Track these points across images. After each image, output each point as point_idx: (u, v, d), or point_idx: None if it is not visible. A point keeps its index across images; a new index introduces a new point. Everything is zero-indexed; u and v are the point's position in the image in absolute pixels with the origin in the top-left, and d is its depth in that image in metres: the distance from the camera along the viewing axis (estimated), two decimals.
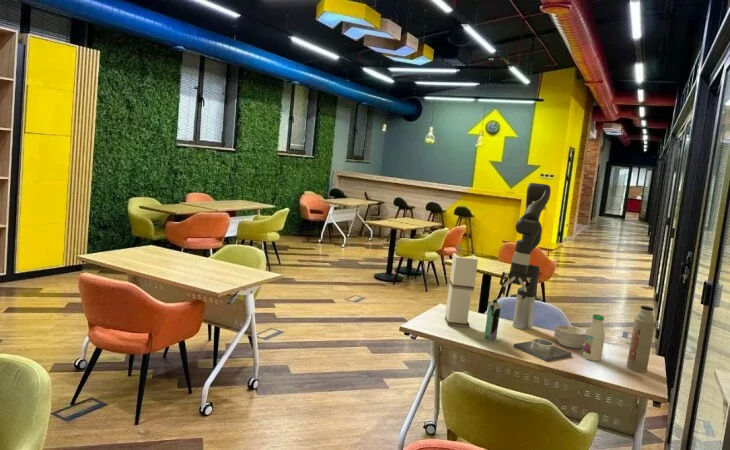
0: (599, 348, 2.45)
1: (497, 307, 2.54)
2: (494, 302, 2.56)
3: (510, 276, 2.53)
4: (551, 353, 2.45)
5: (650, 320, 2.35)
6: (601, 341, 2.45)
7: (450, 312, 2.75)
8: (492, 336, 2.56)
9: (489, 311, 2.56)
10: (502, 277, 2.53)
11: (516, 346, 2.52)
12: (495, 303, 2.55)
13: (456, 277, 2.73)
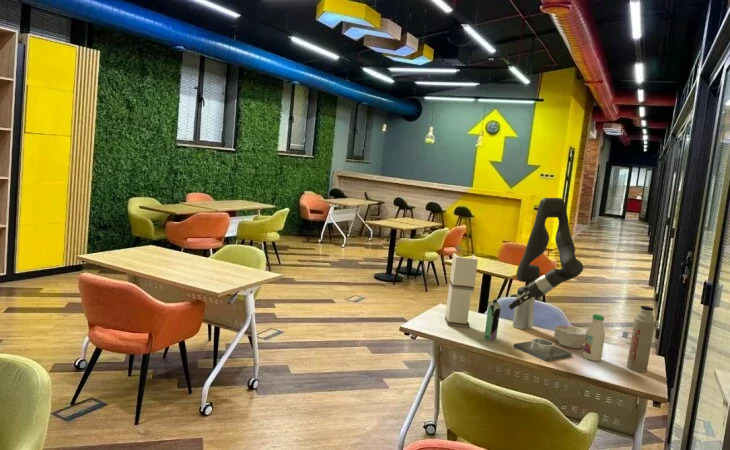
0: (599, 348, 2.45)
1: (497, 307, 2.54)
2: (494, 302, 2.56)
3: None
4: (551, 353, 2.45)
5: (650, 320, 2.35)
6: (601, 341, 2.45)
7: (450, 312, 2.75)
8: (492, 336, 2.56)
9: (489, 311, 2.56)
10: (525, 301, 2.44)
11: (516, 346, 2.52)
12: (495, 303, 2.55)
13: (456, 277, 2.73)
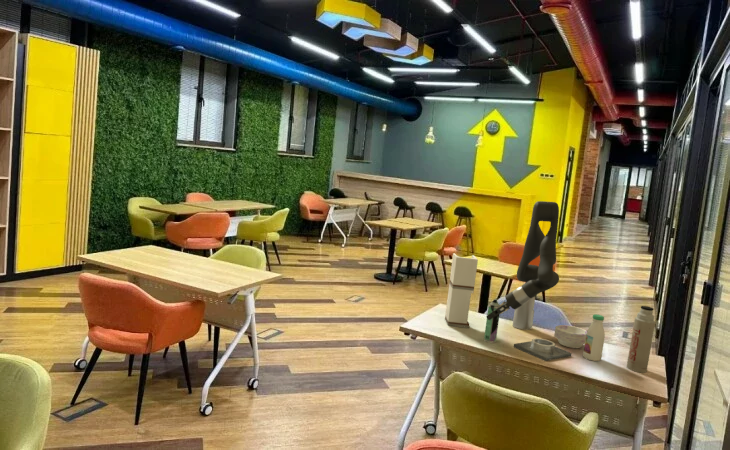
0: (599, 348, 2.45)
1: None
2: (494, 302, 2.56)
3: (505, 309, 2.52)
4: (551, 353, 2.45)
5: (650, 320, 2.35)
6: (601, 341, 2.45)
7: (450, 312, 2.75)
8: (492, 336, 2.56)
9: (489, 311, 2.56)
10: (501, 312, 2.50)
11: (516, 346, 2.52)
12: (495, 303, 2.55)
13: (456, 277, 2.73)
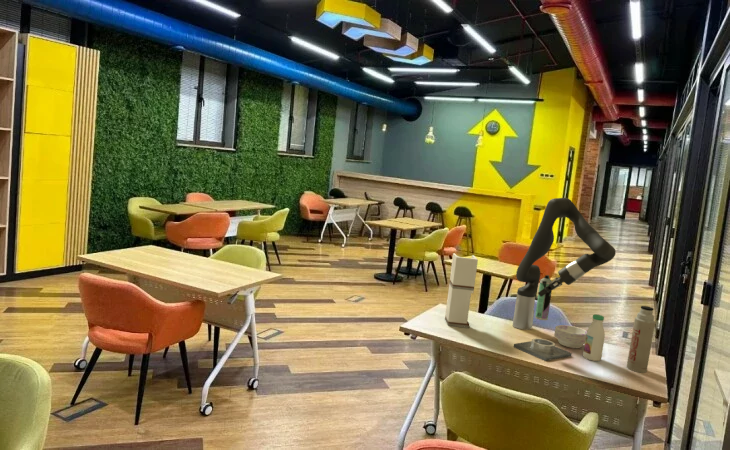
0: (599, 348, 2.45)
1: None
2: (546, 278, 2.47)
3: (558, 285, 2.43)
4: (551, 353, 2.45)
5: (650, 320, 2.35)
6: (601, 341, 2.45)
7: (450, 312, 2.75)
8: (544, 313, 2.47)
9: (541, 287, 2.47)
10: (554, 288, 2.41)
11: (516, 346, 2.52)
12: (547, 279, 2.46)
13: (456, 277, 2.73)
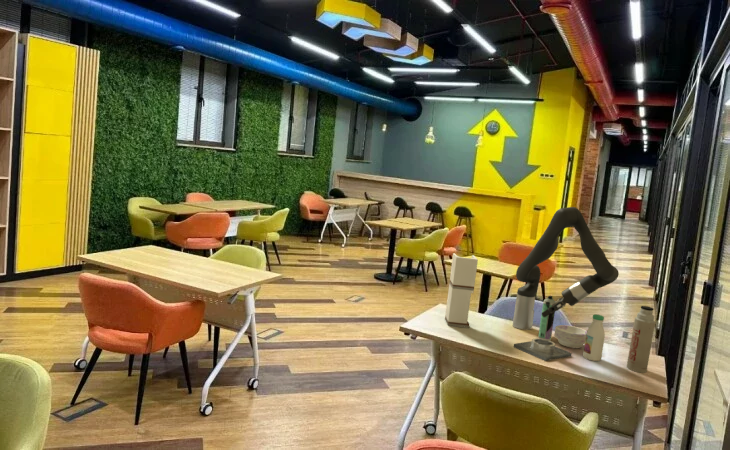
0: (599, 348, 2.45)
1: None
2: (549, 299, 2.47)
3: (561, 306, 2.43)
4: (551, 353, 2.45)
5: (650, 320, 2.35)
6: (601, 341, 2.45)
7: (450, 312, 2.75)
8: (547, 334, 2.47)
9: (544, 308, 2.47)
10: (558, 309, 2.41)
11: (516, 346, 2.52)
12: (550, 300, 2.47)
13: (456, 277, 2.73)
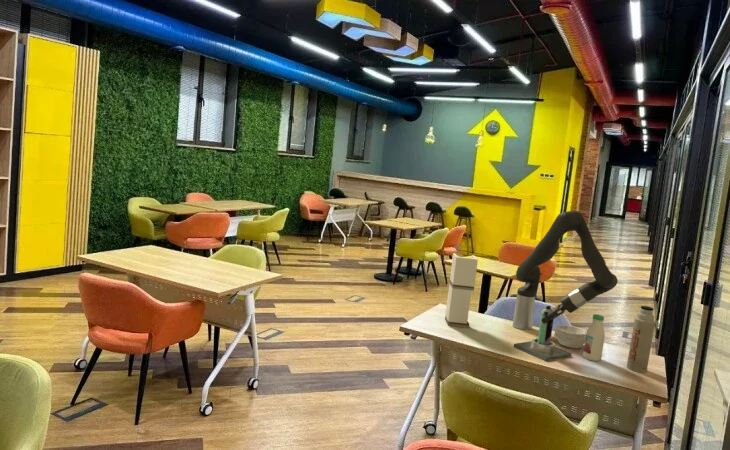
0: (599, 348, 2.45)
1: None
2: (547, 308, 2.48)
3: (561, 312, 2.43)
4: (551, 353, 2.45)
5: (650, 320, 2.35)
6: (601, 341, 2.45)
7: (450, 312, 2.75)
8: (546, 344, 2.48)
9: (542, 318, 2.48)
10: (558, 315, 2.41)
11: (516, 346, 2.52)
12: (549, 309, 2.47)
13: (456, 277, 2.73)
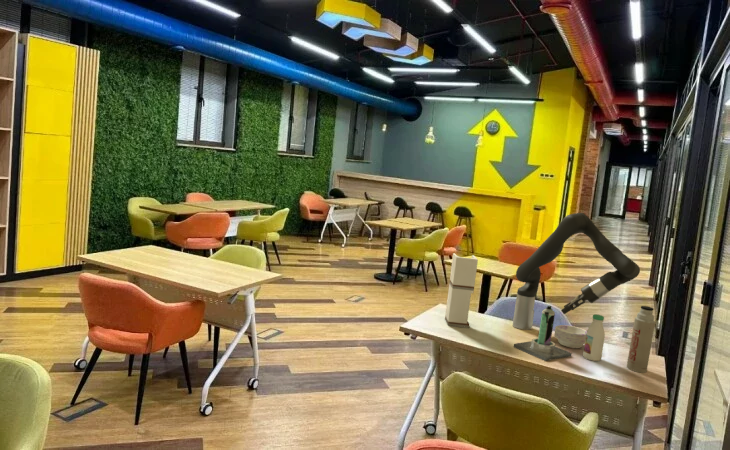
0: (599, 348, 2.45)
1: (552, 314, 2.46)
2: (548, 309, 2.48)
3: None
4: (551, 353, 2.45)
5: (650, 320, 2.35)
6: (601, 341, 2.45)
7: (450, 312, 2.75)
8: (546, 344, 2.48)
9: (543, 318, 2.48)
10: (579, 305, 2.37)
11: (516, 346, 2.52)
12: (549, 310, 2.47)
13: (456, 277, 2.73)
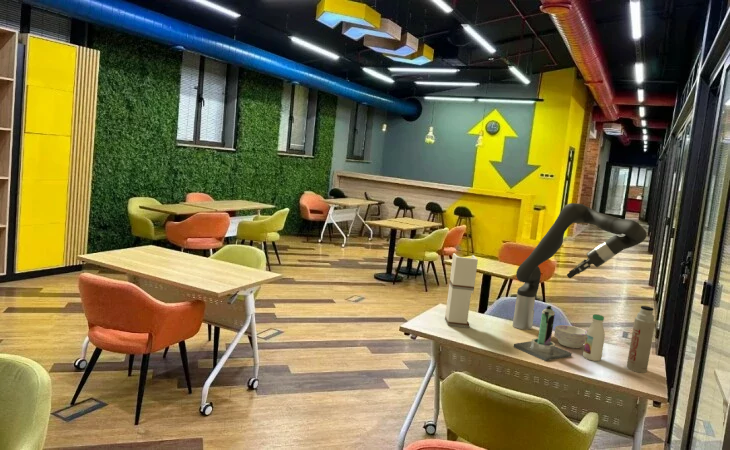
0: (599, 348, 2.45)
1: (552, 314, 2.46)
2: (548, 309, 2.48)
3: None
4: (551, 353, 2.45)
5: (650, 320, 2.35)
6: (601, 341, 2.45)
7: (450, 312, 2.75)
8: (546, 344, 2.48)
9: (543, 318, 2.48)
10: (584, 269, 2.36)
11: (516, 346, 2.52)
12: (549, 310, 2.47)
13: (456, 277, 2.73)
